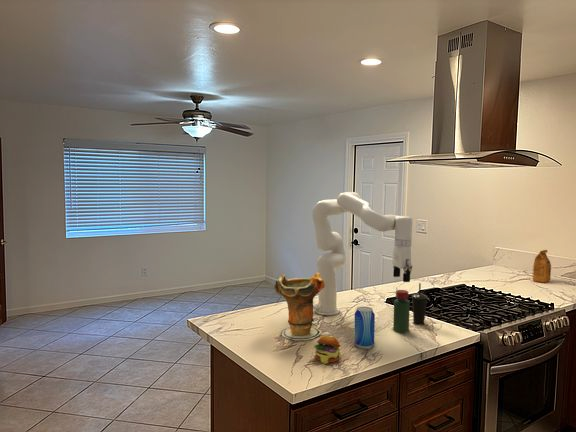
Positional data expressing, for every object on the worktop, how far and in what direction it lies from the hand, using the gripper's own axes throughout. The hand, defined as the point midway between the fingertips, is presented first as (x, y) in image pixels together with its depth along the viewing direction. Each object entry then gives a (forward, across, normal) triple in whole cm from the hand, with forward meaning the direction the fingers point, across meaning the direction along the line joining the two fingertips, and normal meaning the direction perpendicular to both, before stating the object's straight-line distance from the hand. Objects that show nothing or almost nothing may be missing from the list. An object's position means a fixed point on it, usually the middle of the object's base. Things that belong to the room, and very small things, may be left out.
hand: (401, 279), depth 192 cm
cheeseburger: (+25, +24, -42) cm, 54 cm away
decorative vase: (+25, -4, -47) cm, 54 cm away
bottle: (+24, +1, +1) cm, 24 cm away
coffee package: (+24, -68, +142) cm, 159 cm away
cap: (+9, 0, 0) cm, 9 cm away
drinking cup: (+24, -6, +14) cm, 29 cm away
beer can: (+24, +15, -23) cm, 37 cm away
